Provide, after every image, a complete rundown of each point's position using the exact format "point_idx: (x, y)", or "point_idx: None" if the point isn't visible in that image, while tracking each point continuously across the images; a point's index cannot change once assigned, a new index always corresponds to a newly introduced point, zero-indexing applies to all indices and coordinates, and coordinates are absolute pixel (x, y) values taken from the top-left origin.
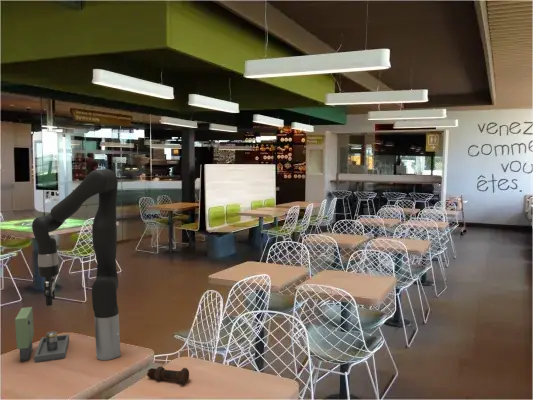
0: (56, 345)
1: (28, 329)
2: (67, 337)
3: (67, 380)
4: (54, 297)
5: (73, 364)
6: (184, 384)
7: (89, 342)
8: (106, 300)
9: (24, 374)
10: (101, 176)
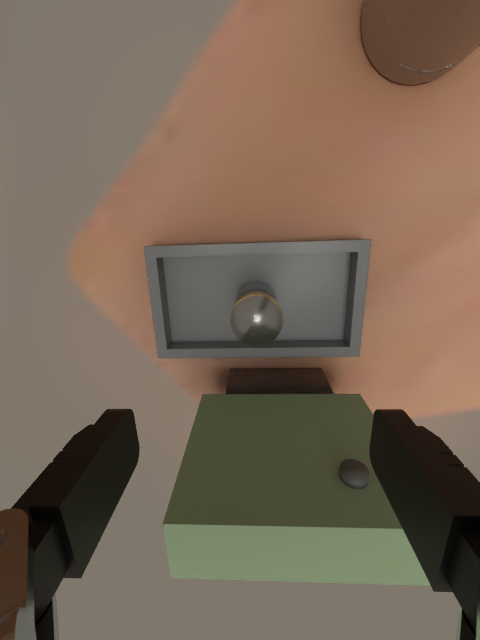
0: (266, 286)
1: (354, 446)
2: (184, 248)
3: None
4: (120, 419)
5: (441, 194)
6: None
7: (210, 142)
8: None
9: (439, 363)
10: None
